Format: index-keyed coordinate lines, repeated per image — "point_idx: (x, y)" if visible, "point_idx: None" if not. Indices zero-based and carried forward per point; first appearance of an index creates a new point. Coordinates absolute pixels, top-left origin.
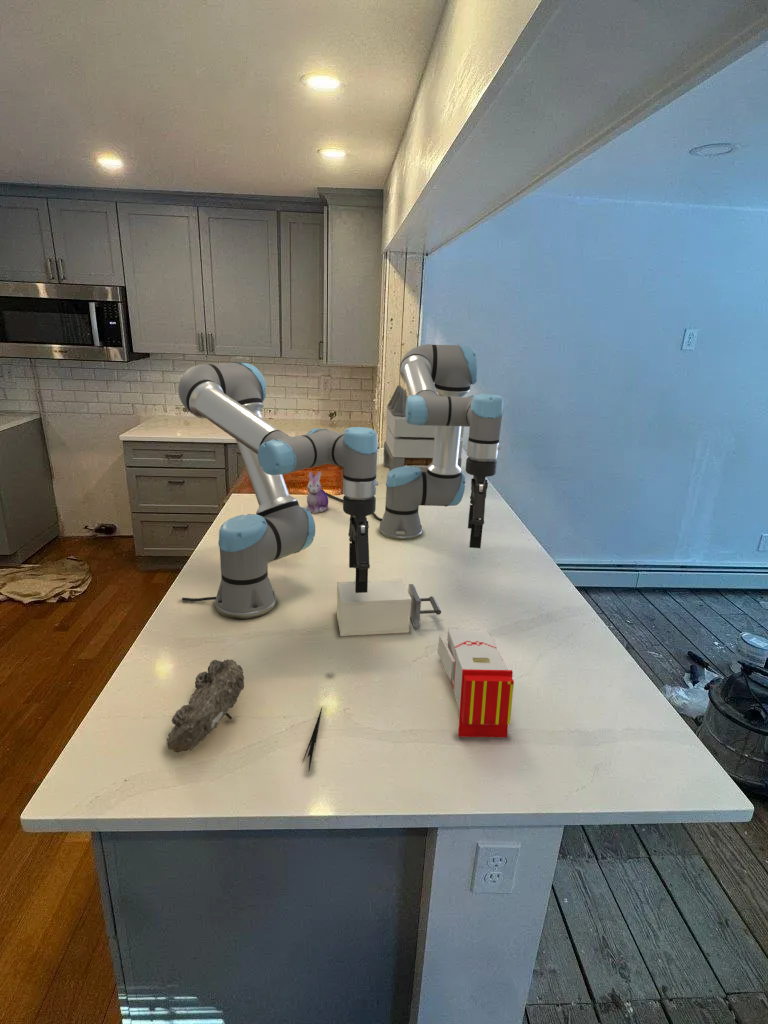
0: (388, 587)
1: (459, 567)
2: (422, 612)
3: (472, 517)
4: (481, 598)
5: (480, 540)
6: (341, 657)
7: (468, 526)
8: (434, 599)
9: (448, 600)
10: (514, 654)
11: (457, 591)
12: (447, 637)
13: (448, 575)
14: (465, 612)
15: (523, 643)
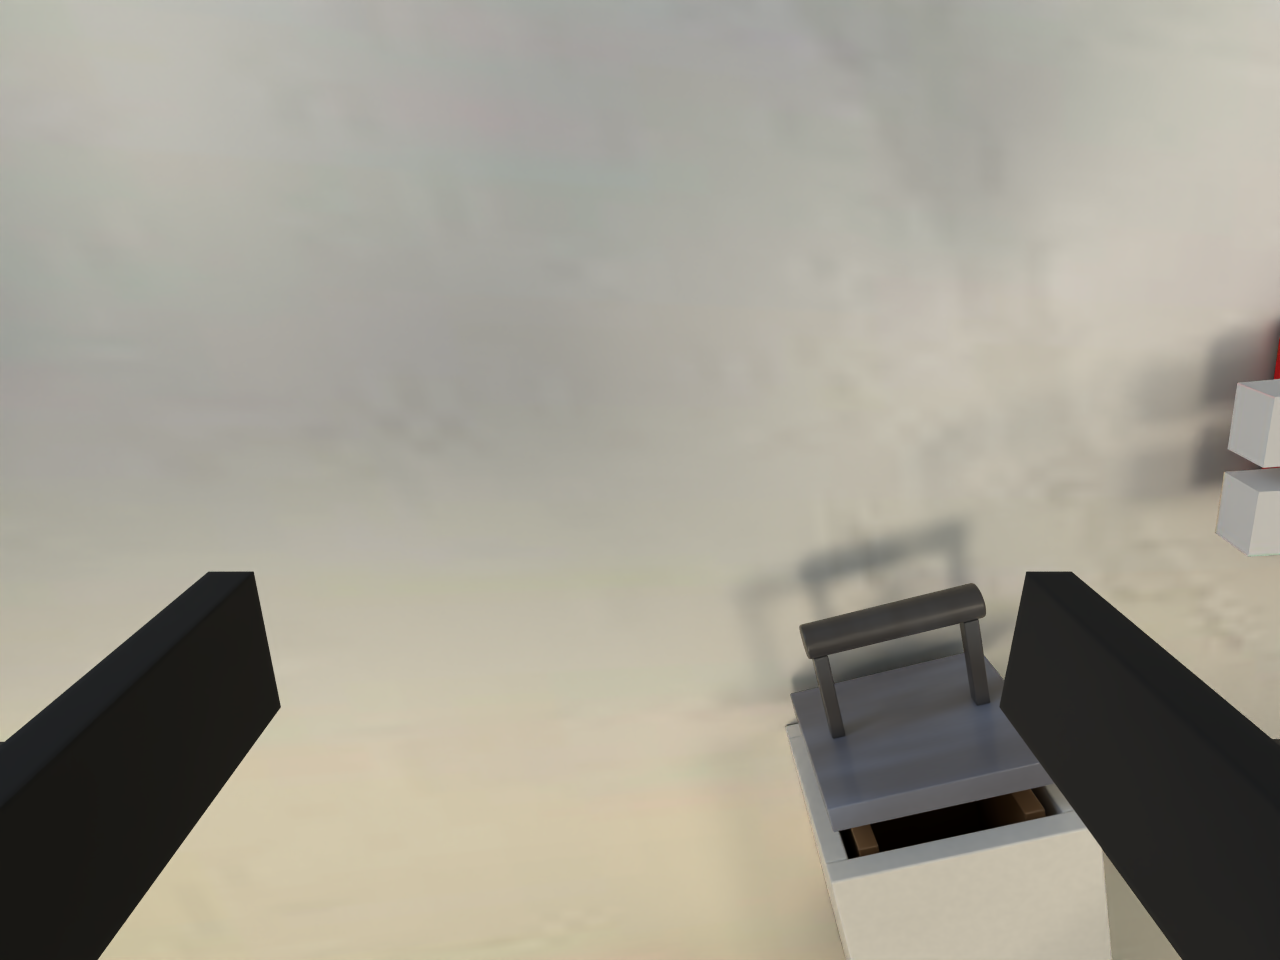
0: (948, 944)
1: (98, 426)
2: (986, 683)
3: (159, 798)
4: (538, 286)
5: (1154, 653)
6: None
7: (268, 721)
8: (848, 634)
9: (613, 497)
10: (1229, 112)
11: (478, 443)
12: (1224, 538)
13: (260, 499)
14: (747, 398)
15: (1108, 30)
